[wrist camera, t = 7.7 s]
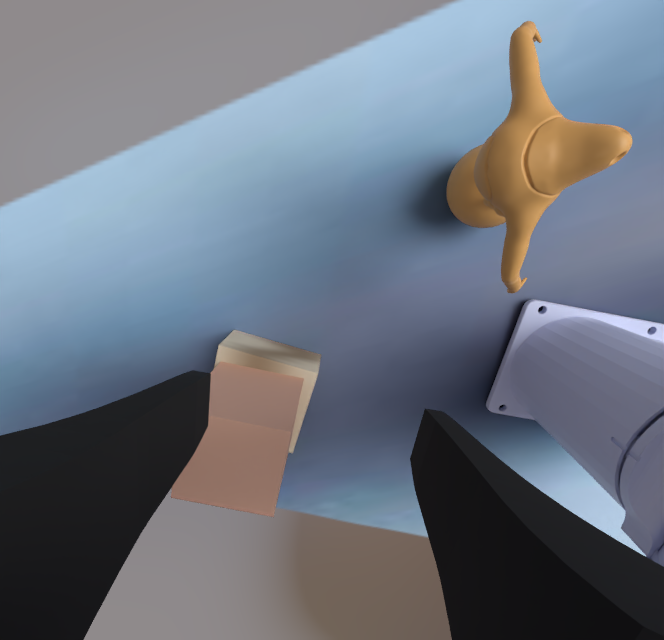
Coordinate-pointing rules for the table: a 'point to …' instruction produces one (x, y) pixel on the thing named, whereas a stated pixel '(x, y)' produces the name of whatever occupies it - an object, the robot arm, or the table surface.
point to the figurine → (528, 160)
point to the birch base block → (273, 365)
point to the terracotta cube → (243, 440)
